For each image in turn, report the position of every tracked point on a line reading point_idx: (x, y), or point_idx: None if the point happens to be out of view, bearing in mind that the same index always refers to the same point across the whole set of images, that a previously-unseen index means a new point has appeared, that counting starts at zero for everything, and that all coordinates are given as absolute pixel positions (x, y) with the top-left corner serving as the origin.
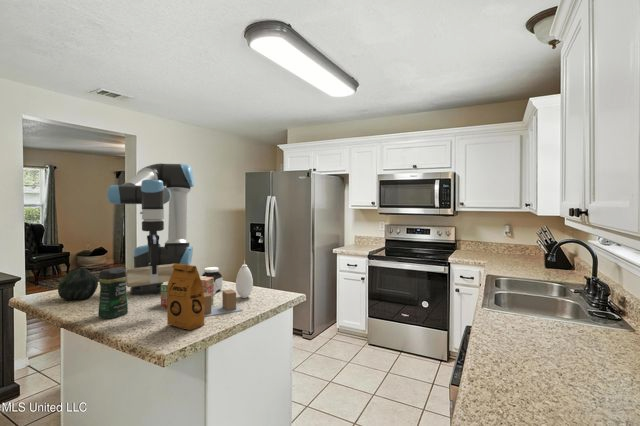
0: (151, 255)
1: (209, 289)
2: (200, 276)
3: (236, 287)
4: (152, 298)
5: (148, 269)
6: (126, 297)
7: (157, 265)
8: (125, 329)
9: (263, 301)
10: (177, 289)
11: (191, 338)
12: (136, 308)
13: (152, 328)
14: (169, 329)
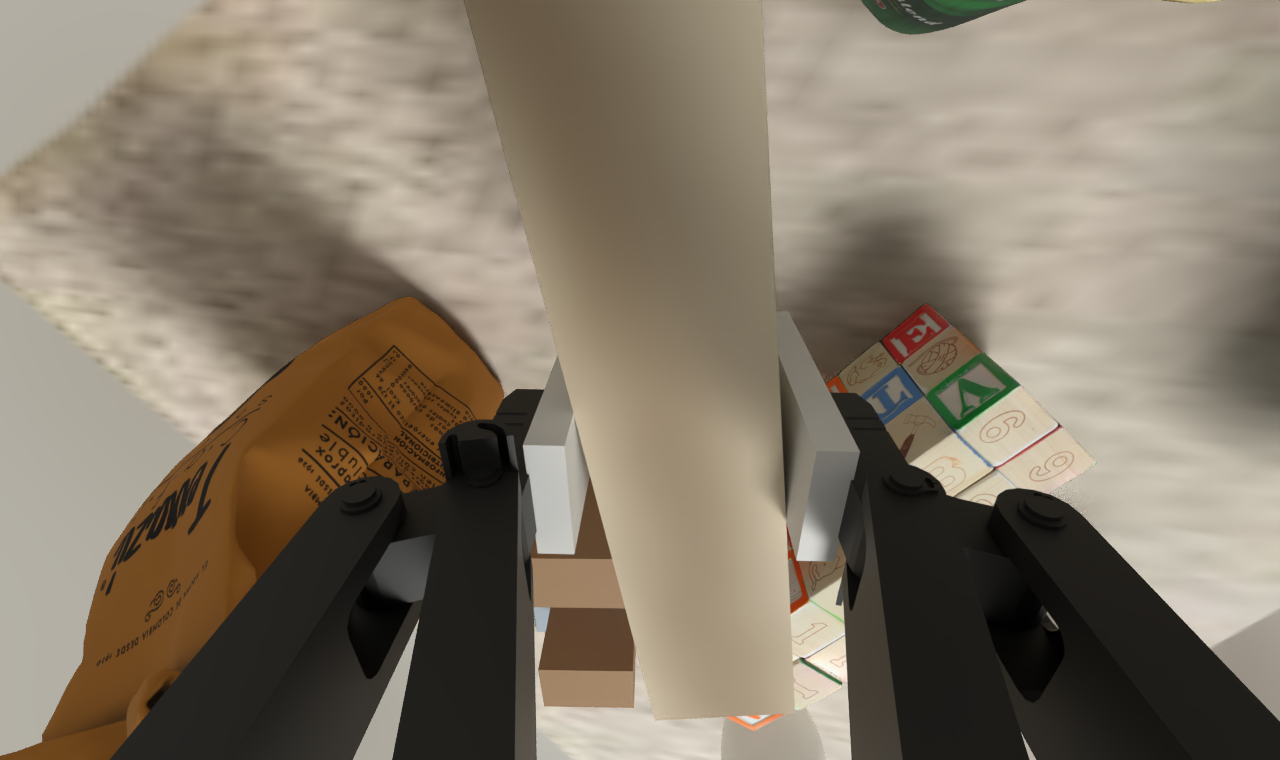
0: (182, 683)
1: None
2: (828, 684)
3: (772, 722)
4: (1213, 265)
5: (572, 381)
6: (956, 9)
7: (538, 542)
8: (450, 9)
9: (640, 716)
10: (174, 500)
11: (180, 374)
12: (998, 117)
13: (407, 202)
14: (355, 295)
